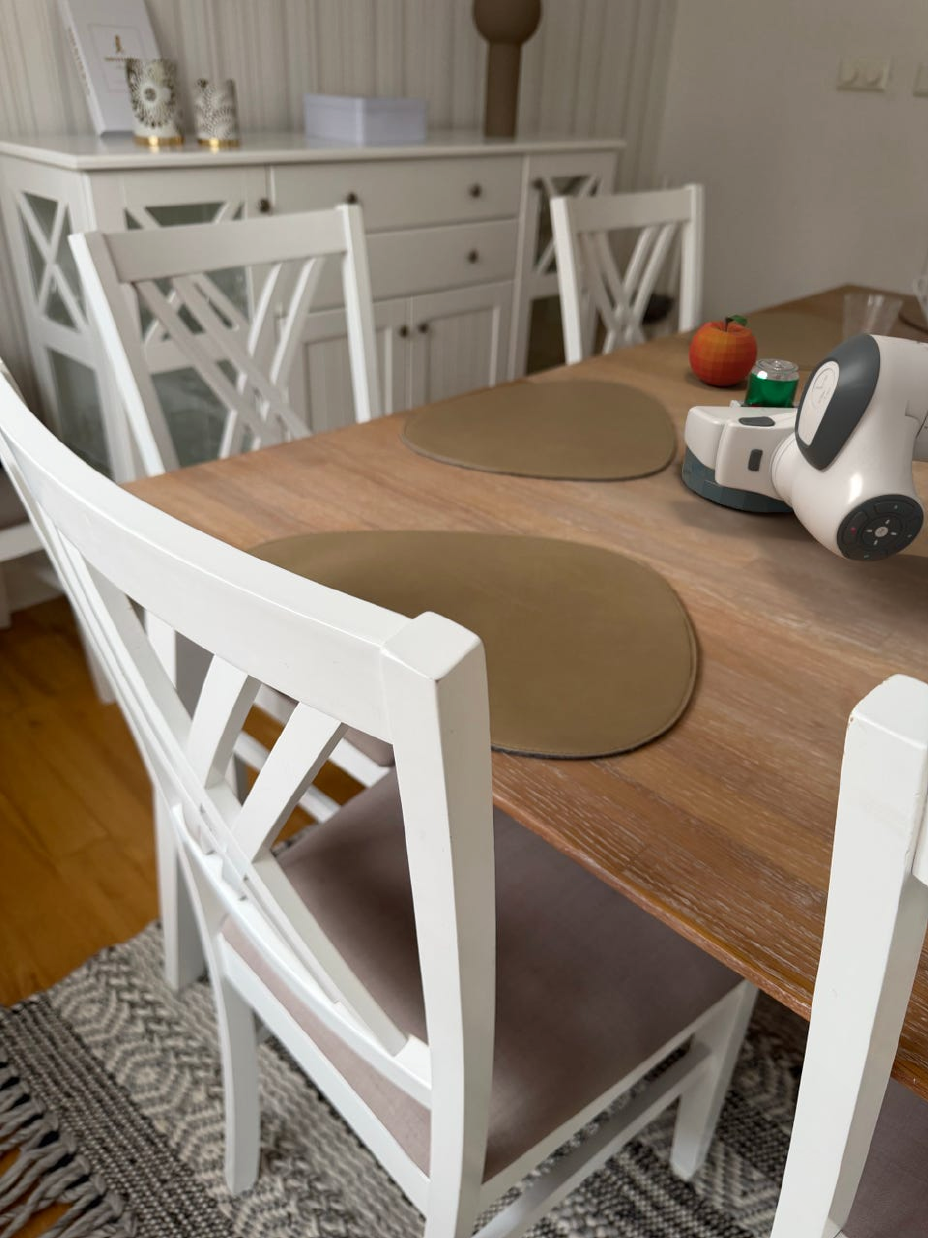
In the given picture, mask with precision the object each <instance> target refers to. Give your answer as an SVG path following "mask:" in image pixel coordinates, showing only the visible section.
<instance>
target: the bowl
mask: <svg viewBox="0 0 928 1238" xmlns="http://www.w3.org/2000/svg"><path fill="white" fill-rule="evenodd" d="M681 480H683V482H684V483H685V484H686V486H687V487H688V488H689V489H690V490H692V491H693V492H695V493H697V494H698V495H699V496H701V497H702V498H704V499H707V498H708V499H707V500H709V499H710V500H709V501H711V500H712V501H711V502H714V501H715V502H714V503H716V502H717V504H719V503H720V504H719V505H721V504H723V505H722V506H724V505H726V506H725V507H727V506H730V507H729V508H731V507H734V508H733V509H735V508H738V509H737V510H739V509H743V510H742V511H744V510H748V511H747V512H750V511H756V512H755V513H759V512H783V513H793V512H794V509H793V508H792V507H790V506H789V505H788V504H787V503H785V502H784V501H781V500H778V499H774V498H772V497H769V496H766V495H763V494H760V493H756V492H751V491H747V490H741V489H735V488H730V487H724V486H721V485H719V484H718V483H717V482H716V480H715V470H713V469H710V468H708V467H707V466H705V465H704V464H702V463H701V462H700V461H699V460H698V459H697V457H696V456H695V455H694V454H693V453H692V451H691V450H690V449H689V447H688V446H687V444H686V445H685V450H684V457H683V462H682V469H681Z"/></svg>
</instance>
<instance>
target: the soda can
mask: <svg viewBox="0 0 928 1238" xmlns="http://www.w3.org/2000/svg"><path fill="white" fill-rule="evenodd" d="M798 370H799V366H798V365H797V364H796V363H793V362H791V361H788V360H784V359H778V358H761V359H758V360H756V361H755V365H754V366H753V368H752V369H751V371H750V372H749V376H748V382H747V386H746V391H745V395H744V399H743V401H745V402H746V403H747V404H749V407H765V408H793V404H794V402H795V400H796V395H797V391H798V387H799V383H800V379H801V378H800V375H799V371H798Z"/></svg>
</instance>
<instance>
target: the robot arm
mask: <svg viewBox="0 0 928 1238" xmlns="http://www.w3.org/2000/svg"><path fill="white" fill-rule="evenodd" d="M683 438H684V442H685V444H686V445H687V446H688V447H689V449H690V450H691V451H692V453H693V454H694V455H695V456H696V457H697V459H698V460H699V461H700V462H701V463H702V464H704V465H705V466H707V467H708V468H710V469H713V470H715V480H716V482H717V483H718V484H719V485H721V486H724V487H730V488H735V489H741V490H747V491H751V492H756V493H760V494H763V495H766V496H769V497H772V498H774V499H778V500H781V501H784V502H785V503H787V504H788V505H789V506H790V507H792V508H793V509H794V511H793V512H794V514H795V516H796V517H797V519H798V521H799V522H800V523H801V524H802V525H803V527H804V528H805V529H806V530H807V531H808V533H810V534H811V536H812V537H813V538H814V539H816V541H817V542H819V543H820V544H821V545H822V546H823V547H824V548H825V549H827V550H829V552H832V553H833V554H835V555H836V556H838V557H840V558H842V559H845V560H848V561H851V562H877V561H880V560H884V559H887V558H890V557H892V556H894V555H897V554H898V553H901V552H902V551H904V550H905V549H906V548H908V547H909V546H910V545H911V544H912V543H913V542H914V541H915V540H916V539H917V538H918V536H919V535H920V533H921V531H922V529H923V527H924V525H925V518H926V514H925V513H926V512H925V508H924V505H923V502H922V500H921V498H920V496H919V494H918V492H917V490H916V486H915V483H914V475H913V462H918V463H927V464H928V343H927V342H921V341H918V340H915V339H909V338H902V337H894V336H887V335H879V334H870V333H866V332H861V333H856V334H854V335H853V336H850V337H848V338H847V339H845V340H844V341H842V342H840V343H839V344H838V345H837V346H835V347H834V348H833V349H832V350H830V351H829V353H827V355H826V356H824V358H822V360H820V362H819V363H818V364H817V365H816V366H815V367H814V369H812V371H811V373H810V375H809V377H808V379H807V380H806V383H805V386H804V388H803V390H802V392H801V396H800V399H799V401H794V404H793V408H765V407H749V404H747V403H746V402H745V401H744V400H739V399H737V400H736V399H732V400H730V402H729V406H721V405H720V406H718V405H717V406H716V405H695V406H693V407H691V408H690V409H689V411H688V412H687V416H686V420H685V426H684V436H683Z"/></svg>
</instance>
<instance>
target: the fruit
mask: <svg viewBox="0 0 928 1238" xmlns="http://www.w3.org/2000/svg"><path fill="white" fill-rule="evenodd" d="M734 321H736V323H732V322H734ZM737 323H738V324H737ZM747 325H748V318H746V317H745V316H744V315H739V314H734V315H731V316H728V315H725V317H724V321H710V322H707V323H705V324H704V325H703V326H701V327H700V328H699V329H698V330H697V332H696V334H695V335H694V336H693V338H692V340H691V343H690V346H689V350H688V352H689V353H688V361H689V364H690V368H691V370H692V372H693V374H694V375H695V377H697V378H698V379H699V380H700V381H702V382H703V383H705V384H707V385H711V386H717V387H729V386H733V385H735V384H738V383H740V382H742V381H743V380H744V379H745V378H746V377H748V375H750V371H751V370H752V369H753V368H754V367H755V365H756V362H757V358H758V344H757V339H756V337H755V336H754V334H753V332H752V331H751V330H750V329H749V328H748V327H746V326H747Z"/></svg>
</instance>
